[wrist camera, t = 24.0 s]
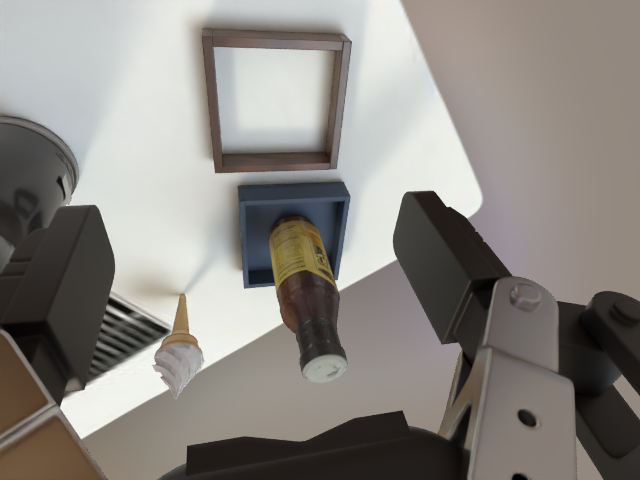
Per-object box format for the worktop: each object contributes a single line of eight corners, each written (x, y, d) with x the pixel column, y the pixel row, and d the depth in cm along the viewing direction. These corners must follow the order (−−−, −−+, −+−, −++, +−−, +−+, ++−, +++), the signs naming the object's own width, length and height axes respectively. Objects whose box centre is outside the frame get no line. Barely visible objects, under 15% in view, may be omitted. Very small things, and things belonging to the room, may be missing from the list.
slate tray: (242, 271, 53) (244, 288, 50) (237, 185, 44) (239, 201, 42) (332, 264, 55) (337, 280, 53) (343, 181, 47) (350, 196, 45)
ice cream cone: (156, 282, 51) (141, 390, 40) (202, 278, 52) (199, 381, 41) (165, 311, 54) (153, 417, 43) (207, 306, 56) (206, 408, 44)
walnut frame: (214, 161, 42) (215, 173, 40) (202, 28, 34) (201, 35, 32) (331, 158, 45) (336, 169, 43) (345, 34, 37) (352, 41, 35)
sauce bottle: (319, 245, 52) (362, 384, 37) (271, 255, 51) (296, 400, 36) (314, 205, 47) (360, 343, 33) (262, 215, 47) (285, 361, 32)
